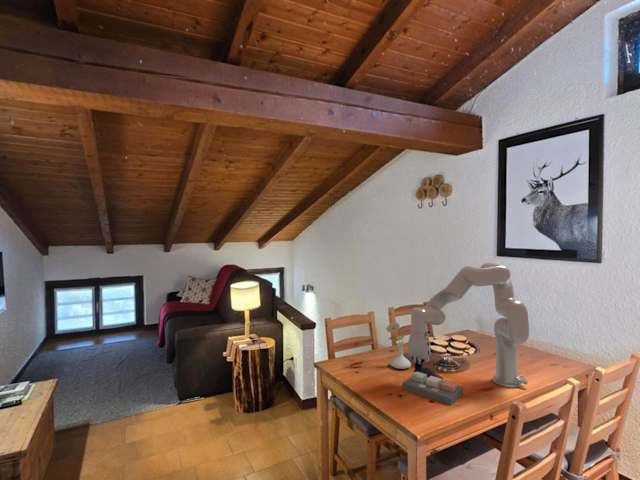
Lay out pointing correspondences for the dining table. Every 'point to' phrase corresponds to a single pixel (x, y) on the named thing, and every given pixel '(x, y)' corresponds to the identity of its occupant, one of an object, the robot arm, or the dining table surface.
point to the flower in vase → (399, 359)
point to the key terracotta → (450, 386)
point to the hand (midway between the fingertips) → (418, 370)
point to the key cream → (434, 381)
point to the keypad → (432, 391)
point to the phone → (429, 373)
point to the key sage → (419, 377)
